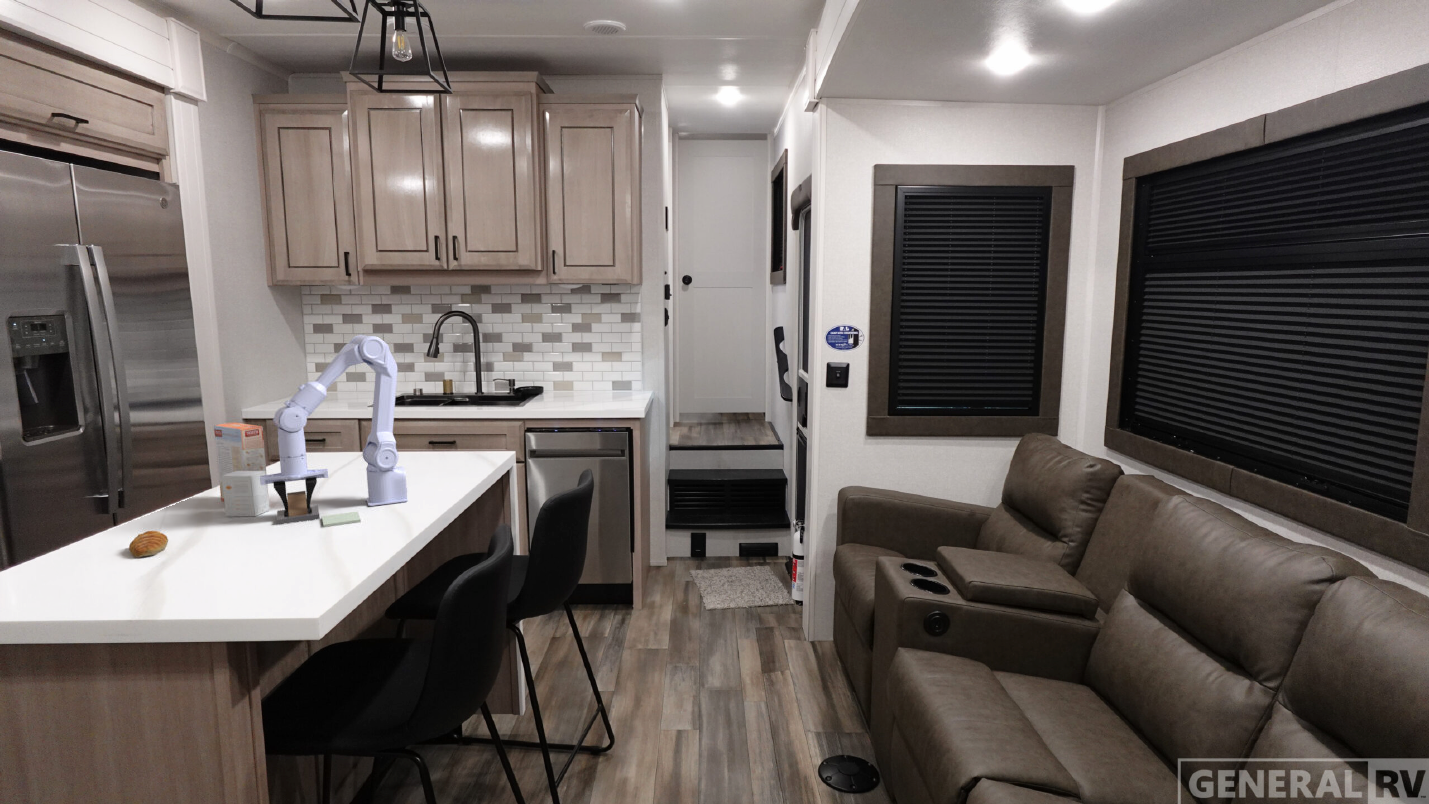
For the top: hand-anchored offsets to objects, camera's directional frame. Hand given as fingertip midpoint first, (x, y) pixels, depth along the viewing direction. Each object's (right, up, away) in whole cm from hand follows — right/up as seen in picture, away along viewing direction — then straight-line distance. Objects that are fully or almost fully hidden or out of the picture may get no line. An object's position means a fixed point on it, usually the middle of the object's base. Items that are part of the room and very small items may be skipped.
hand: (297, 509), depth 185 cm
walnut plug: (0, -2, 0) cm, 2 cm away
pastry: (-19, -6, -23) cm, 31 cm away
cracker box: (-22, 0, +15) cm, 26 cm away
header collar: (0, -2, 0) cm, 2 cm away
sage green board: (+12, -2, -3) cm, 13 cm away
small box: (-15, -2, +4) cm, 15 cm away
